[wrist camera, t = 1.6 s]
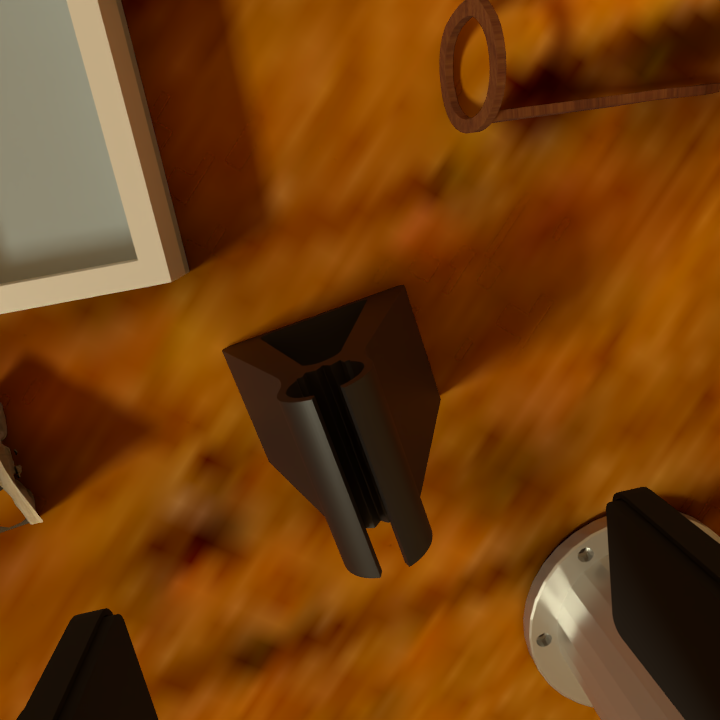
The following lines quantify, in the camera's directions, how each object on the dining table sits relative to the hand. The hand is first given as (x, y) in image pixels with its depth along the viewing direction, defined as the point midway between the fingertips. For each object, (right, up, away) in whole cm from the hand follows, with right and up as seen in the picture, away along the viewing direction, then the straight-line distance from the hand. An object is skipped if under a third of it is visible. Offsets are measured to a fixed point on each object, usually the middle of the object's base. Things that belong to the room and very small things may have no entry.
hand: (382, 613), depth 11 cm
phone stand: (-2, +4, +17) cm, 18 cm away
